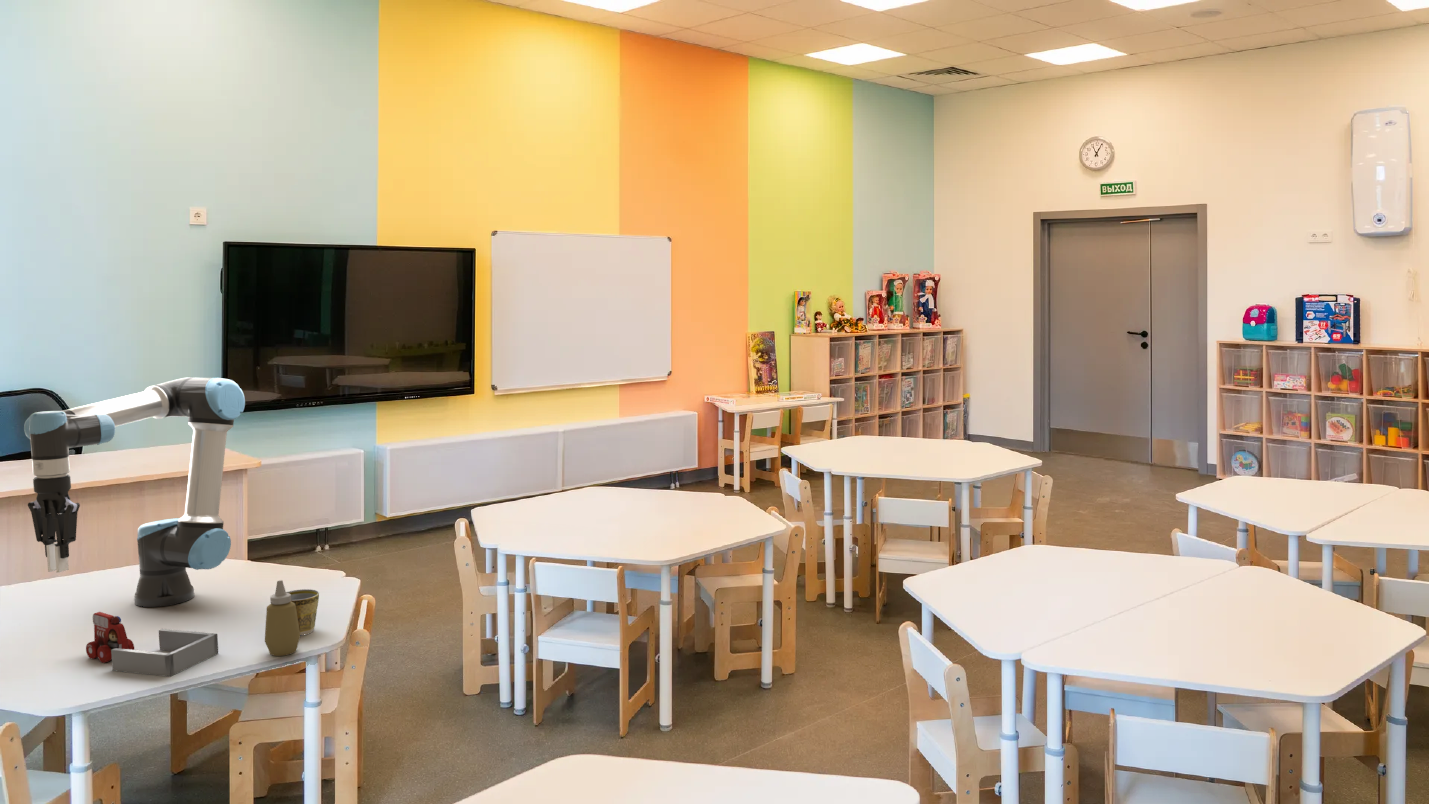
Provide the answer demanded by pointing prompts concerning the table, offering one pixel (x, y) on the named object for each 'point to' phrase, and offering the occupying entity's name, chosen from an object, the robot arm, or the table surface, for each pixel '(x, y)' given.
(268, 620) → the squeeze bottle
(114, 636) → the toy fire truck
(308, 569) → the table surface
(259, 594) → the table surface
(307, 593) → the ceramic cup
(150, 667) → the box
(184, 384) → the robot arm
